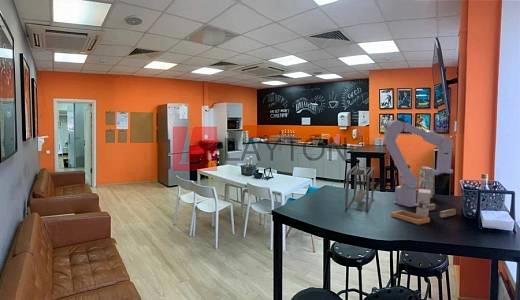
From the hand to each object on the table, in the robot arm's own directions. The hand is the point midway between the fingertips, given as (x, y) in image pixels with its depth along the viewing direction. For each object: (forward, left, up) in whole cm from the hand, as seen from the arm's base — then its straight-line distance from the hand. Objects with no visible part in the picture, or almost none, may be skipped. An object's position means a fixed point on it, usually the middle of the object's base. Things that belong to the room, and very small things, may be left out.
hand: (441, 188), depth 157 cm
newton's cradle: (-23, -33, -10) cm, 41 cm away
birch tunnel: (+6, -13, -9) cm, 17 cm away
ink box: (+6, -25, -10) cm, 27 cm away
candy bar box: (-18, +16, -10) cm, 26 cm away
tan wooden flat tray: (+6, -34, -9) cm, 35 cm away
